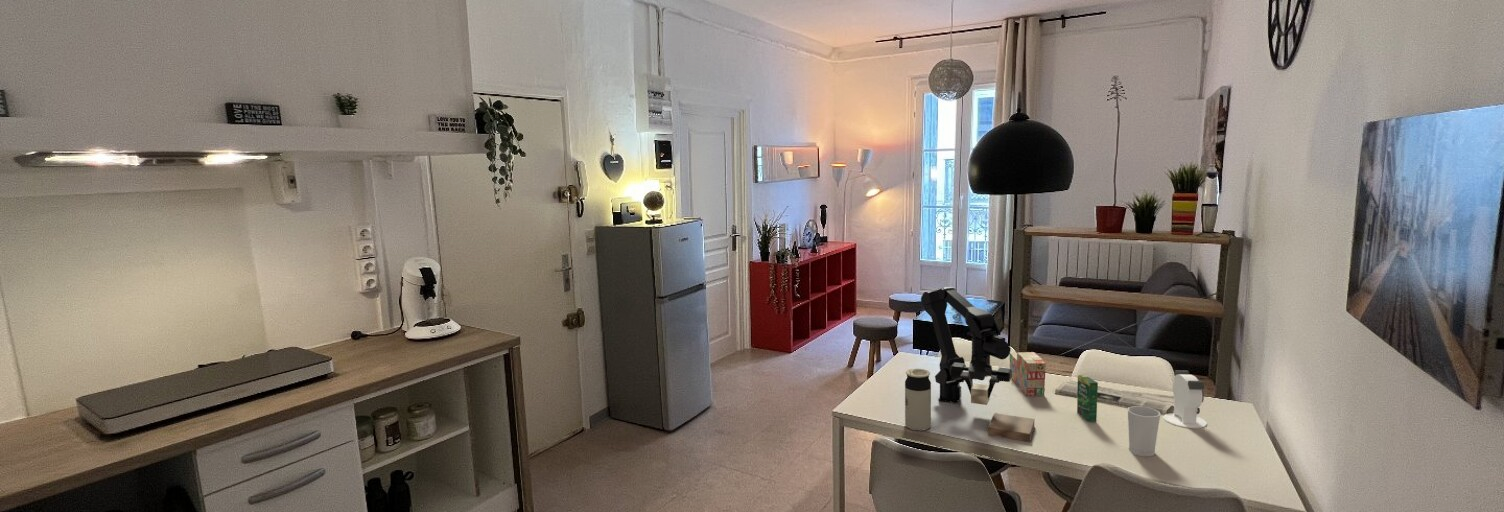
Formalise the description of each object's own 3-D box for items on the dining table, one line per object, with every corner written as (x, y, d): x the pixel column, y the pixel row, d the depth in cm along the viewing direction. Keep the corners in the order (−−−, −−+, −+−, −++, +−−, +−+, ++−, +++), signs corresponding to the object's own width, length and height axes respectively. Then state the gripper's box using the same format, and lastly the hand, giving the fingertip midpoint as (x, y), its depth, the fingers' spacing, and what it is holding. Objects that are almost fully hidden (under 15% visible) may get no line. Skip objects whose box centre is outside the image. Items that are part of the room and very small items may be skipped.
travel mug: (931, 422, 214) (931, 369, 211) (929, 432, 206) (929, 377, 204) (906, 420, 216) (906, 367, 214) (903, 429, 209) (903, 375, 206)
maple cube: (970, 402, 216) (971, 388, 216) (973, 397, 221) (974, 383, 220) (986, 405, 214) (987, 390, 213) (989, 399, 218) (989, 385, 218)
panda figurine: (1214, 429, 200) (1218, 382, 198) (1173, 428, 202) (1176, 381, 200) (1195, 414, 212) (1198, 369, 209) (1157, 413, 214) (1159, 368, 211)
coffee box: (1075, 412, 217) (1077, 374, 215) (1084, 412, 217) (1086, 374, 215) (1087, 422, 209) (1089, 383, 207) (1096, 422, 209) (1098, 382, 207)
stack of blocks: (1008, 375, 254) (1009, 344, 252) (1025, 375, 253) (1026, 344, 251) (1026, 396, 233) (1027, 362, 231) (1044, 396, 232) (1046, 362, 230)
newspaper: (1054, 394, 234) (1055, 385, 234) (1065, 384, 243) (1065, 375, 243) (1171, 417, 211) (1171, 406, 211) (1177, 405, 221) (1178, 395, 220)
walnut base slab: (987, 434, 203) (987, 427, 202) (994, 420, 213) (994, 413, 213) (1029, 441, 197) (1029, 433, 197) (1034, 426, 207) (1034, 419, 207)
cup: (1119, 446, 192) (1121, 407, 190) (1145, 444, 192) (1147, 405, 191) (1137, 458, 184) (1139, 417, 182) (1164, 456, 185) (1167, 415, 183)
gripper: (946, 354, 212) (945, 401, 215) (1007, 361, 203) (1006, 409, 206) (953, 345, 222) (953, 389, 224) (1012, 351, 213) (1011, 397, 215)
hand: (980, 396), depth 217 cm, fingers closed on maple cube, 5 cm apart
